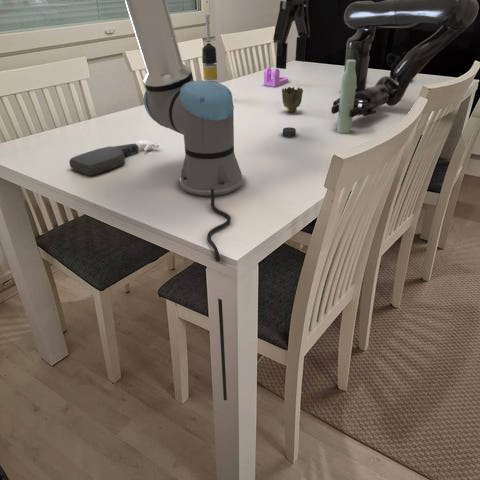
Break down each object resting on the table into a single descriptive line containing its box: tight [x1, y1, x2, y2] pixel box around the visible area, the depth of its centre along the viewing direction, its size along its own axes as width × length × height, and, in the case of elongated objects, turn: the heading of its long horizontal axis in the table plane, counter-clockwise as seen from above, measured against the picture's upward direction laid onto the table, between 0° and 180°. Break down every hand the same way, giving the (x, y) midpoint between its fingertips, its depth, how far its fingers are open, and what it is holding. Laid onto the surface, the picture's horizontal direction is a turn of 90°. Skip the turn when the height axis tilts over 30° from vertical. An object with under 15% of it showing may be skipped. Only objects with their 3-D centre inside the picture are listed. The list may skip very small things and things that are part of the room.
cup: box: [281, 86, 304, 114], centre depth 159 cm, size 8×7×8 cm
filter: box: [201, 14, 219, 83], centre depth 171 cm, size 6×6×30 cm
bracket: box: [263, 67, 289, 88], centre depth 197 cm, size 13×6×7 cm, turn 143°
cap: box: [282, 127, 297, 138], centre depth 139 cm, size 4×4×2 cm
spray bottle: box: [68, 139, 160, 177], centre depth 124 cm, size 3×11×24 cm
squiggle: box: [385, 51, 409, 82], centre depth 198 cm, size 11×10×15 cm
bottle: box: [336, 60, 357, 134], centre depth 137 cm, size 4×4×21 cm
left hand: (290, 64), depth 128 cm, fingers open, 13 cm apart
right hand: (341, 112), depth 137 cm, fingers open, 5 cm apart
